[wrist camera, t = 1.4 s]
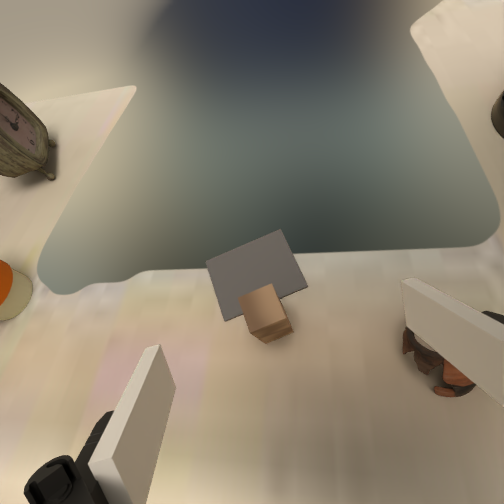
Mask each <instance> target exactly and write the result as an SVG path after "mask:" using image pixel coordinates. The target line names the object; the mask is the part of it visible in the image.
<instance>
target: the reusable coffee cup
mask: <svg viewBox="0 0 504 504" xmlns="http://www.w3.org/2000/svg"><path fill="white" fill-rule="evenodd" d="M32 290H33V288H32V282H31V280H30V279H29V278H28V277H27V276H25V275H23V274H21V273H19V272H17V271H15V270H13V269H12V268H11V267H10V266H9V265H8V264H7V263H6V262H4V261H2V260H0V320H9V319H11V318H14V317H15V316H17V315H18V314H19V313H21V312H22V311H23V309H24V308H25V307H26V306H27V304H28V302H29V300H30V298H31V295H32Z"/></svg>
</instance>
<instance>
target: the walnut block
mask: <svg viewBox="0 0 504 504" xmlns="http://www.w3.org/2000/svg"><path fill="white" fill-rule="evenodd" d="M238 300H239V303H240V306H241V309H242V312H243V314H244V317H245V320H246V323H247V326H248V329H249V331H250V333H251V334H252V335H254V336H255V337H257V338H258V339H259V340H261V341H262V342H264V343H265V344H267V343H269V342H272V341H274V340H276V339H279V338H281V337H284V336H286V335H289V334H291V333H293V329H292V327H291V324H290V322H289V320H288V317H287V315H286V313H285V310H284V308H283V305H282V303H281V301H280V299H279V297H278V295H277V293H276V291H275V289H274V287H273V285H272V283H271V284H269V285H267V286H264V287H262V288H259V289H257V290H255V291H252V292H250V293H248V294H245V295H243V296H241V297H238Z"/></svg>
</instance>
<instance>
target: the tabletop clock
mask: <svg viewBox="0 0 504 504" xmlns="http://www.w3.org/2000/svg"><path fill="white" fill-rule="evenodd" d="M49 146H50V147H54V146H55V142H54V141H53V140H49V139H48V132H47V129H46V127H45V125H44V124H43V123H42V122H41V120H40V119H39V118H38V117H37V116H36V115H35V114H34V113H33V112H32V111H31V110H30V109H29V108H28V107H27V106H26V105H25V104H24V103H23V102H22V101H21V100H20V99H19V98H18V97H16V96H15V95H14V94H13V93H12V92H11V91H10V90H9V89H7V88H6V87H5V86H4V85H2V84H1V83H0V175H2V176H6V177H12V178H15V177H18V176H20V175H23V174H25V173H28V172H30V171H35V170H38V171H40V172H42V173H44V174H45V175H46V178H47V179H48V180H53V179H54V178H55V176H54V174H52V173H47V172H46V171H44V170H43V169H42V168H41V167H43V166H45V164H46V163H47V160H48V153H49Z"/></svg>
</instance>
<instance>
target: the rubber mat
mask: <svg viewBox="0 0 504 504" xmlns="http://www.w3.org/2000/svg"><path fill="white" fill-rule="evenodd" d="M206 265H207V268H208V271H209V274H210V277H211V280H212V284H213V287H214V290H215V293H216V296H217V299H218V302H219V306H220V309H221V312H222V315H223V318H224V321H228V320H230V319H233V318H235V317H237V316H240V315H242V314H243V312H242V309H241V306H240V303H239V300H238V297H241V296H243V295H245V294H248V293H250V292H252V291H255V290H257V289H259V288H262V287H264V286H267V285H269V284H271V283H272V285H273V287H274V289H275V291H276V293H277V295H278V297H279V299H280V298H282V297H285V296H287V295H290V294H292V293H294V292H297V291H299V290H301V289H304V288H306V287H308V285H307V283H306V281H305V279H304V277H303V275H302V273H301V271H300V269H299V266H298V264H297V262H296V260H295V258H294V256H293V254H292V252H291V250H290V248H289V245H288V244H287V241H286V239H285V237H284V235H283V233H282V231H281V229H279V230H277V231H274V232H272V233H270V234H268V235H265V236H263V237H261V238H259V239H256V240H254V241H251V242H249V243H247V244H244V245H242V246H240V247H238V248H235V249H233V250H230V251H228V252H226V253H223V254H221V255H219V256H216V257H214V258H212V259H210V260H207V261H206Z"/></svg>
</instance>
